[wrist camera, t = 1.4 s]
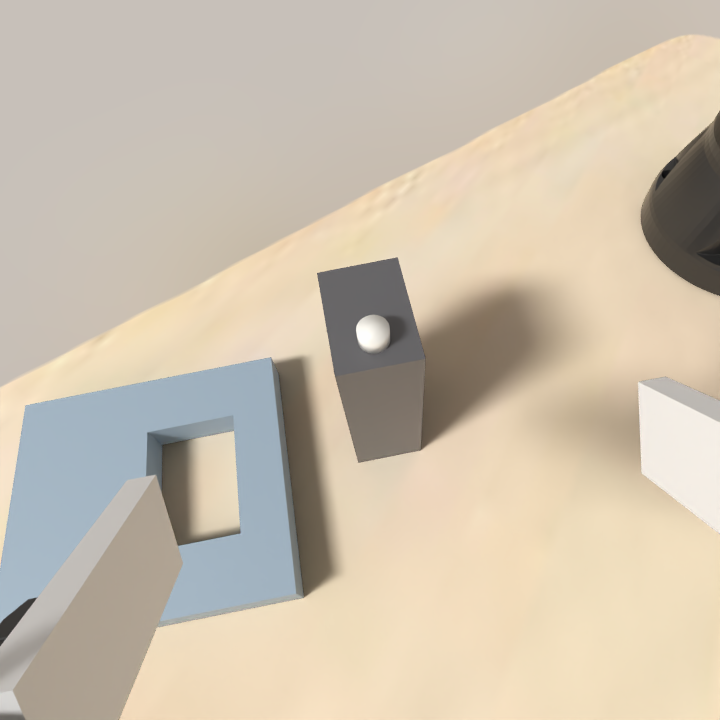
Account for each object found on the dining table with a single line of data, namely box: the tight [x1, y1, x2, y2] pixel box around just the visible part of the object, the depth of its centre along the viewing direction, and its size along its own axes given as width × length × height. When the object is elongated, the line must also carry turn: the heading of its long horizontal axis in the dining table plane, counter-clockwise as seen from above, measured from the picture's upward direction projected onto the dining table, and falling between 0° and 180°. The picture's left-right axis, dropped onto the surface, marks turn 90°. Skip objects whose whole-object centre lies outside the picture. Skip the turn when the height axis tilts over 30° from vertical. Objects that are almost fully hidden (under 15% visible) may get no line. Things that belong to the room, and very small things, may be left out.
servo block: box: [317, 257, 426, 463], centre depth 32 cm, size 4×6×14 cm
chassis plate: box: [0, 357, 304, 627], centre depth 35 cm, size 18×16×2 cm
